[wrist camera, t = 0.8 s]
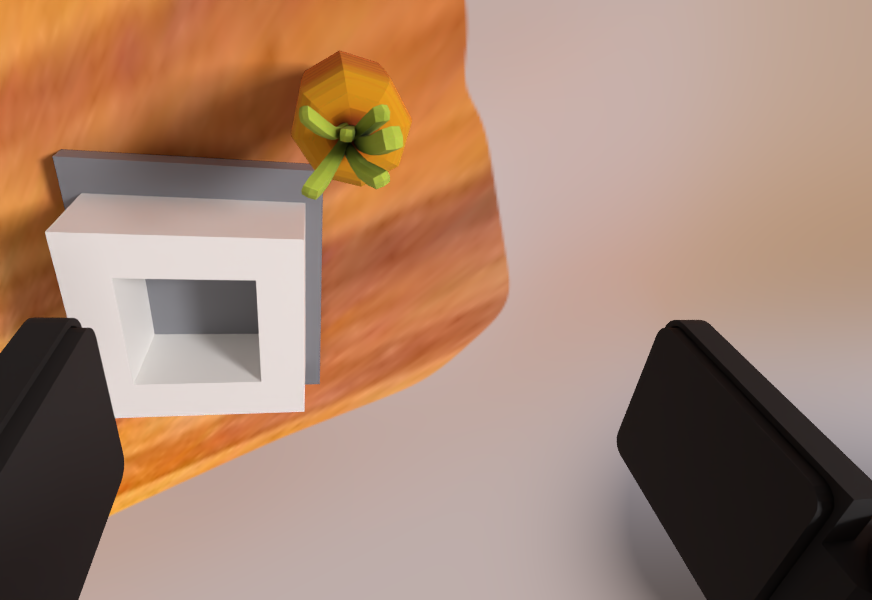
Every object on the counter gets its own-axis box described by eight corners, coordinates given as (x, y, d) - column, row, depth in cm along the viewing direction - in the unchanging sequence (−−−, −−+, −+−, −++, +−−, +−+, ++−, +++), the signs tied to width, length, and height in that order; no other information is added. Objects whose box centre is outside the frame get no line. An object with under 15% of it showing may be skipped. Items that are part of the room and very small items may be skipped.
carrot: (306, 128, 32) (300, 244, 20) (287, 34, 30) (267, 99, 17) (391, 117, 33) (438, 224, 20) (381, 24, 30) (427, 81, 18)
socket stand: (61, 149, 31) (9, 191, 25) (322, 164, 34) (324, 204, 28) (113, 377, 39) (81, 444, 34) (319, 373, 42) (320, 433, 37)
